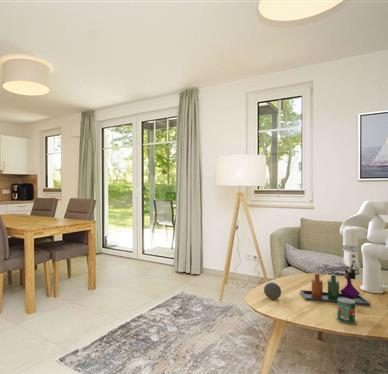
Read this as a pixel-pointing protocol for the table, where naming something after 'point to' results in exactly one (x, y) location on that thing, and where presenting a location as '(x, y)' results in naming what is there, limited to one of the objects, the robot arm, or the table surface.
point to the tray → (358, 300)
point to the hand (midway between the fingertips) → (350, 277)
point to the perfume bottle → (349, 288)
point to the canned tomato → (346, 310)
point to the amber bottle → (317, 287)
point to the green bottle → (333, 288)
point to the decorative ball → (272, 290)
